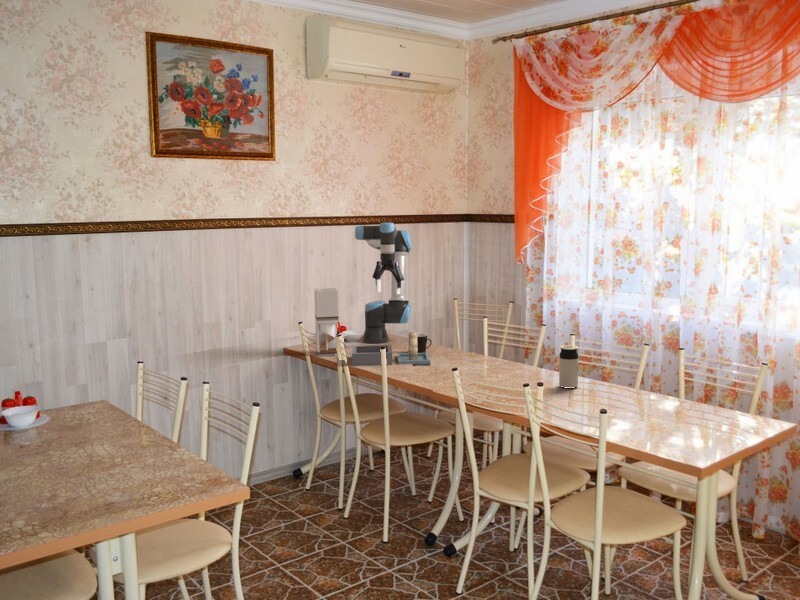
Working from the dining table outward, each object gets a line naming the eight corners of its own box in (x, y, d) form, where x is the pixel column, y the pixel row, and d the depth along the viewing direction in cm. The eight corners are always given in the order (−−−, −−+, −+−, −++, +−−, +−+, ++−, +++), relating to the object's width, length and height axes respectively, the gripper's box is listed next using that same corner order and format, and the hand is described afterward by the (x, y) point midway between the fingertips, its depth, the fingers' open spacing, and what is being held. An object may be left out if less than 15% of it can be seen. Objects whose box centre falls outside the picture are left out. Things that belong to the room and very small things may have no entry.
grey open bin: (353, 358, 394) (352, 345, 393) (391, 357, 394) (391, 344, 393) (352, 367, 374) (351, 353, 373) (392, 366, 375) (392, 352, 374)
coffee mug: (408, 352, 406) (408, 334, 405) (423, 351, 410) (423, 333, 409) (418, 356, 396) (418, 338, 395) (433, 355, 400) (432, 336, 398)
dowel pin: (408, 358, 387) (408, 332, 385) (417, 358, 387) (417, 331, 385) (409, 360, 383) (408, 333, 381) (417, 360, 383) (417, 333, 381)
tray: (397, 358, 394) (397, 353, 393) (427, 357, 394) (427, 352, 394) (398, 366, 376) (398, 361, 375) (430, 365, 376) (430, 360, 376)
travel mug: (557, 388, 329) (557, 347, 326) (561, 384, 336) (561, 344, 334) (575, 390, 326) (576, 349, 323) (579, 385, 333) (580, 345, 330)
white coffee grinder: (318, 356, 401) (316, 291, 396) (316, 352, 411) (314, 288, 406) (339, 355, 403) (337, 290, 398) (337, 351, 413) (335, 288, 408)
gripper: (365, 251, 397) (366, 291, 400) (400, 254, 380) (401, 295, 384) (375, 250, 402) (376, 290, 406) (410, 253, 386) (411, 294, 389)
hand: (388, 293), depth 395 cm, fingers open, 13 cm apart
